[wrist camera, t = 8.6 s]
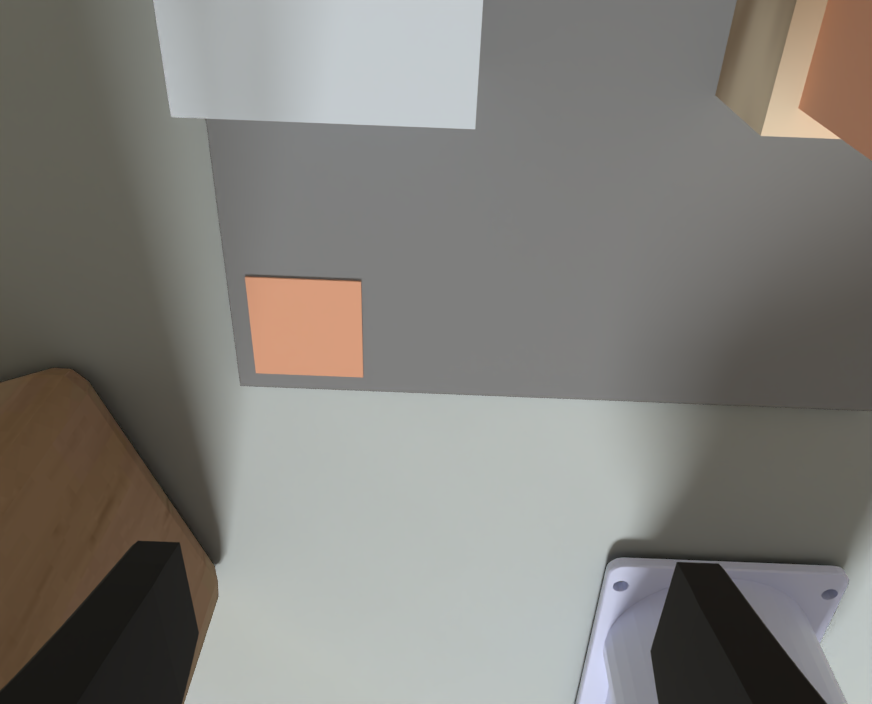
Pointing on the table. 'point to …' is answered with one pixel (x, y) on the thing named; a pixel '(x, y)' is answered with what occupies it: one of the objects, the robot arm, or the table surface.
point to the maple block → (772, 65)
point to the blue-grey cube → (323, 60)
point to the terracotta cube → (843, 74)
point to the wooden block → (74, 512)
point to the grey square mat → (557, 231)
